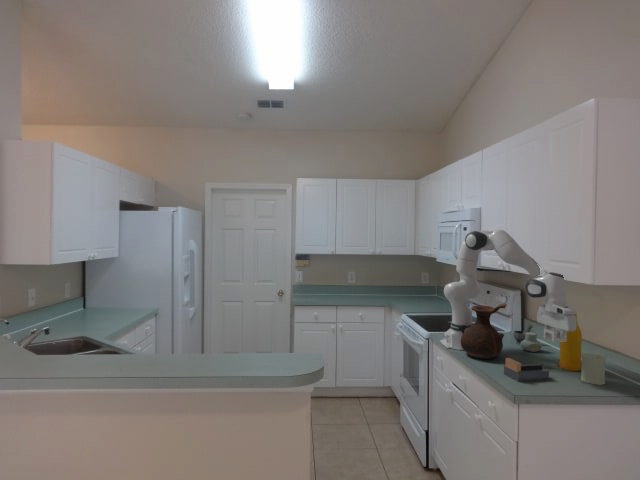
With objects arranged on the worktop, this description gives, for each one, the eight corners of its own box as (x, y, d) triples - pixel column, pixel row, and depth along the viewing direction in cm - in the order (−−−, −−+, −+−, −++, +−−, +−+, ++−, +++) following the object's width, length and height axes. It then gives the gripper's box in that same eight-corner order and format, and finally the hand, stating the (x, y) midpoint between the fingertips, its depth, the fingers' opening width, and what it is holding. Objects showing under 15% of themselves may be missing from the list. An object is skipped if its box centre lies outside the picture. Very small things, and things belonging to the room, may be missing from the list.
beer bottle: (576, 372, 194) (577, 313, 194) (555, 367, 201) (557, 310, 201) (584, 369, 199) (585, 311, 199) (564, 364, 207) (565, 308, 206)
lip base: (533, 372, 194) (533, 355, 194) (548, 379, 184) (549, 362, 184) (503, 374, 190) (504, 357, 190) (518, 381, 181) (518, 364, 181)
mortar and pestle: (517, 345, 242) (518, 325, 241) (510, 341, 251) (510, 322, 251) (536, 345, 242) (536, 326, 242) (527, 341, 251) (528, 322, 251)
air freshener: (524, 352, 227) (525, 335, 227) (517, 348, 236) (518, 331, 235) (544, 352, 227) (544, 335, 227) (536, 348, 235) (536, 331, 235)
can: (594, 385, 177) (595, 358, 177) (575, 378, 186) (576, 352, 186) (610, 383, 180) (610, 357, 180) (591, 376, 189) (591, 351, 189)
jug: (475, 363, 207) (476, 305, 206) (453, 350, 228) (454, 298, 227) (512, 361, 211) (513, 304, 210) (487, 349, 232) (488, 297, 231)
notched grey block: (553, 342, 184) (553, 331, 184) (543, 338, 190) (543, 328, 190) (566, 341, 186) (566, 330, 186) (556, 338, 192) (556, 327, 192)
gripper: (533, 303, 197) (533, 331, 198) (567, 311, 177) (566, 342, 178) (544, 303, 199) (544, 331, 199) (579, 311, 179) (578, 342, 179)
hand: (554, 336), depth 188 cm, fingers closed on notched grey block, 6 cm apart
